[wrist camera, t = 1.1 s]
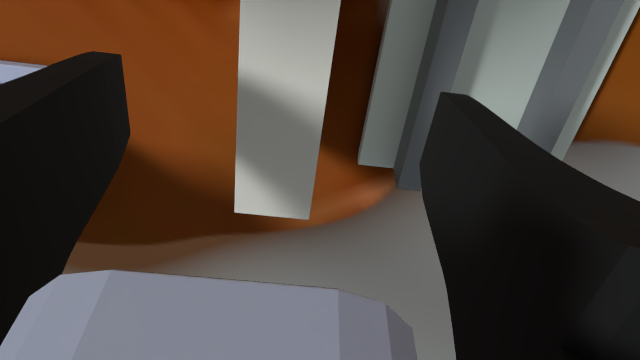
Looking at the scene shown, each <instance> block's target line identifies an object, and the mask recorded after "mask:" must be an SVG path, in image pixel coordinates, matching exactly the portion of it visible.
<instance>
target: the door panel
mask: <svg viewBox="0 0 640 360" xmlns="http://www.w3.org/2000/svg"><path fill="white" fill-rule="evenodd" d="M340 3H341V0H240V31H239V66H238V101H237V136H236V171H235V206H234V213H245V214H255V215H265V216H276V217H286V218H296V219H307V220H309V215H310V208H311V201H312V194H313V187H314V181H315V174H316V167H317V160H318V153H319V146H320V140H321V133H322V126H323V119H324V112H325V106H326V99H327V92H328V85H329V78H330V71H331V65H332V58H333V51H334V44H335V37H336V31H337V24H338V17H339V10H340Z"/></svg>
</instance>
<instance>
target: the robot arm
mask: <svg viewBox="0 0 640 360" xmlns="http://www.w3.org/2000/svg"><path fill="white" fill-rule="evenodd" d="M129 137H130V125H129V117H128V108H127V100H126V92H125V83H124V75H123V67H122V58H121V55H120V54H111V53H103V52H94V51H92V52H87V53H83V54H80V55H77V56H74V57H71V58H68V59H65V60H63V61H60V62H58V63H55V64H52V65H50V66H46V65H37V64H28V63H19V62H10V61H1V60H0V360H417V354H416V348H415V342H414V336H413V330H412V327H411V326H409V325H408V324H407V323H406V322H405V321H404V320H403V319H402V318H401V317H400V316H399V315H398V314H397V313H396V312H394V311H393V310H392V309H391V308H390V307H389V306H388V305H387V304H386V303H384V302H382V301H379V300H376V299H372V298H368V297H365V296H361V295H358V294H354V293H350V292H347V291H343V290H340V289H336V288H324V287H313V286H301V285H289V284H278V283H267V282H255V281H243V280H232V279H220V278H209V277H208V278H207V277H197V276H186V275H173V274H162V273H151V272H140V271H139V272H138V271H128V270H117V269H115V270H106V271H94V272H85V273H74V274H64V275H62V272H63V270H64V267H65V265H66V263H67V260H68V258H69V256H70V253H71V252H72V250H73V248H74V246H75V244H76V242H77V240H78V238H79V236H80V235H81V233H82V231H83V229H84V228H85V226H86V224H87V222H88V221H89V219H90V217H91V215H92V214H93V212H94V210H95V208H96V207H97V205H98V203H99V201H100V200H101V198H102V196H103V194H104V193H105V191H106V189H107V187H108V185H109V184H110V182H111V180H112V178H113V176H114V175H115V173H116V171H117V169H118V167H119V164H120V162H121V159H122V157H123V154H124V151H125V148H126V145H127V143H128V140H129ZM419 167H420V178H421V187H422V195H423V201H424V205H425V209H426V212H427V216H428V220H429V223H430V227H431V231H432V234H433V238H434V241H435V245H436V249H437V253H438V256H439V260H440V263H441V267H442V270H443V274H444V279H445V283H446V288H447V294H448V301H449V307H450V314H451V321H452V328H453V336H454V344H455V352H456V360H640V201H637V200H635V199H632V198H631V197H629V196H626V195H624V194H622V193H620V192H618V191H616V190H613V189H611V188H610V187H607V186H605V185H603V184H602V183H600V182H598V181H596V180H594V179H592V178H590V177H589V176H587V175H585V174H583V173H581V172H580V171H578V170H576V169H574V168H572V167H571V166H569V165H567V164H566V163H564V162H563V161H561V160H559V159H558V158H556V157H555V156H553V155H552V154H550V153H549V152H547V151H546V150H544V149H543V148H541V147H540V146H538V145H537V144H535V143H534V142H533V141H531V140H530V139H528V138H527V137H525V136H524V135H523V134H521V133H520V132H519V131H517V130H516V129H515V128H513V127H512V126H511V125H509V124H508V123H507V122H505V121H504V120H503V119H501V118H500V117H499V116H497V115H496V114H495V113H494V112H492V111H491V110H490V109H488V108H487V107H485V106H484V105H483V104H481V103H480V102H478V101H477V100H475V99H474V98H472V97H470V96H468V95H466V94H457V93H449V92H440V96H439V99H438V102H437V106H436V109H435V112H434V116H433V119H432V123H431V126H430V129H429V133H428V136H427V139H426V143H425V146H424V150H423V153H422V156H421V160H420V163H419Z"/></svg>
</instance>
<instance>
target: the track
mask: <svg viewBox="0 0 640 360" xmlns="http://www.w3.org/2000/svg"><path fill="white" fill-rule="evenodd" d="M639 7H640V0H389V5H388V10H387V14H386V19H385V24H384V29H383V34H382V39H381V44H380V49H379V54H378V59H377V64H376V68H375V73H374V78H373V83H372V88H371V93H370V98H369V103H368V108H367V113H366V118H365V122H364V127H363V132H362V137H361V142H360V147H359V152H358V157H357V158H358V165H367V166H377V167H386V168H393V170H394V175H395V180H396V186H397V189H405V190H415V191H420V189H421V178H420V167H419V163H420V160H421V156H422V153H423V150H424V146H425V143H426V139H427V136H428V133H429V129H430V126H431V123H432V119H433V116H434V112H435V109H436V106H437V102H438V99H439V96H440V92H449V93H457V94H466V95H468V96H470V97H472V98H474V99H475V100H477V101H478V102H480V103H481V104H483V105H484V106H485V107H487V108H488V109H490V110H491V111H492V112H494V113H495V114H496V115H497V116H499V117H500V118H501V119H503V120H504V121H505V122H507V123H508V124H509V125H511V126H512V127H513V128H515V129H516V130H517V131H519V132H520V133H521V134H523V135H524V136H525V137H527V138H528V139H530V140H531V141H533V142H534V143H535V144H537V145H538V146H540V147H541V148H543V149H544V150H546V151H547V152H549V153H550V154H552V155H553V156H555V157H556V158H558V159H559V160H561V161H563V159H564V157H565V154H566V152H567V150H568V148H569V147H570V145H571V143H572V141H573V139H574V137H575V135H576V133H577V131H578V129H579V127H580V125H581V123H582V121H583V119H584V117H585V115H586V113H587V111H588V109H589V107H590V105H591V103H592V101H593V99H594V97H595V95H596V93H597V91H598V89H599V87H600V85H601V83H602V81H603V79H604V77H605V75H606V73H607V71H608V69H609V67H610V65H611V63H612V61H613V59H614V57H615V55H616V53H617V51H618V49H619V47H620V45H621V43H622V41H623V39H624V37H625V35H626V33H627V31H628V29H629V27H630V25H631V23H632V21H633V19H634V17H635V15H636V13H637V11H638V9H639Z"/></svg>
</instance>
